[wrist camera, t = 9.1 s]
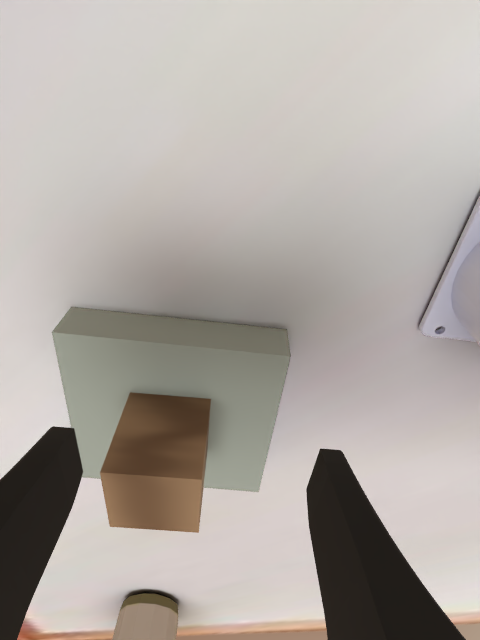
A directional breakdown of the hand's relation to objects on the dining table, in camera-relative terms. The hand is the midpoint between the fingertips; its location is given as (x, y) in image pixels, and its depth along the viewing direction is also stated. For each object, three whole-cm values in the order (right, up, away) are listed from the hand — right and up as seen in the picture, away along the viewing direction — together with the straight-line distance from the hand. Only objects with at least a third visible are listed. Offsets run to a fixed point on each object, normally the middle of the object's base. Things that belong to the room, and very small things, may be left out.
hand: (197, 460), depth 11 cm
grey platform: (-3, 0, +13) cm, 14 cm away
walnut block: (-3, -2, +11) cm, 11 cm away
